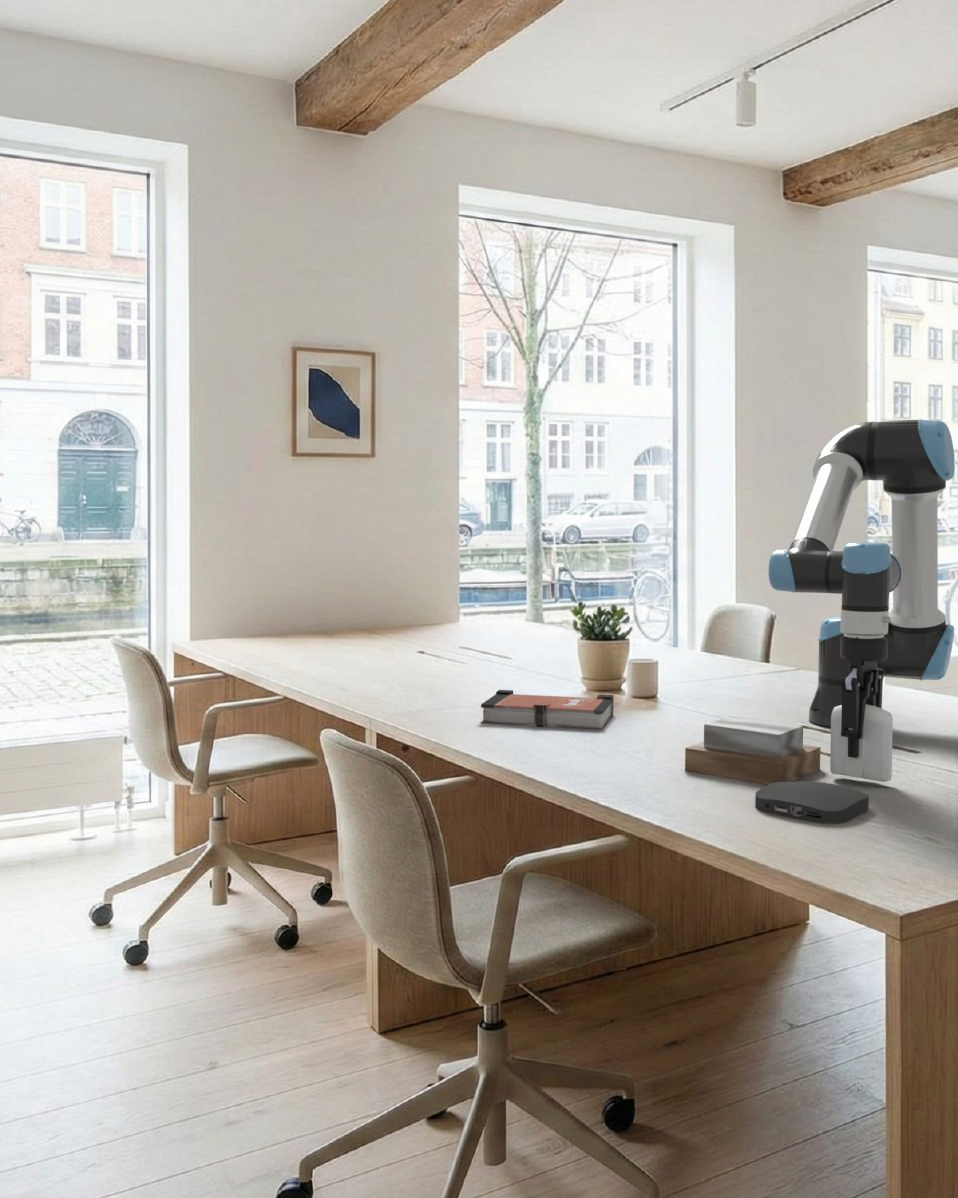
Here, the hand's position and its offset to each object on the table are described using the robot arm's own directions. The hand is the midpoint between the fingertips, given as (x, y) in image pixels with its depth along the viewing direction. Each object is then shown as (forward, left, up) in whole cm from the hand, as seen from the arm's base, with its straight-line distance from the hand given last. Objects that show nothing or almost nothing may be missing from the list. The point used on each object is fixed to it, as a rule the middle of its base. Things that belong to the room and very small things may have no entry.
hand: (860, 772), depth 187 cm
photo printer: (0, 0, -1) cm, 1 cm away
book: (-12, -73, -2) cm, 74 cm away
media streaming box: (+20, 0, -2) cm, 20 cm away
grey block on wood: (+3, -18, -2) cm, 18 cm away
